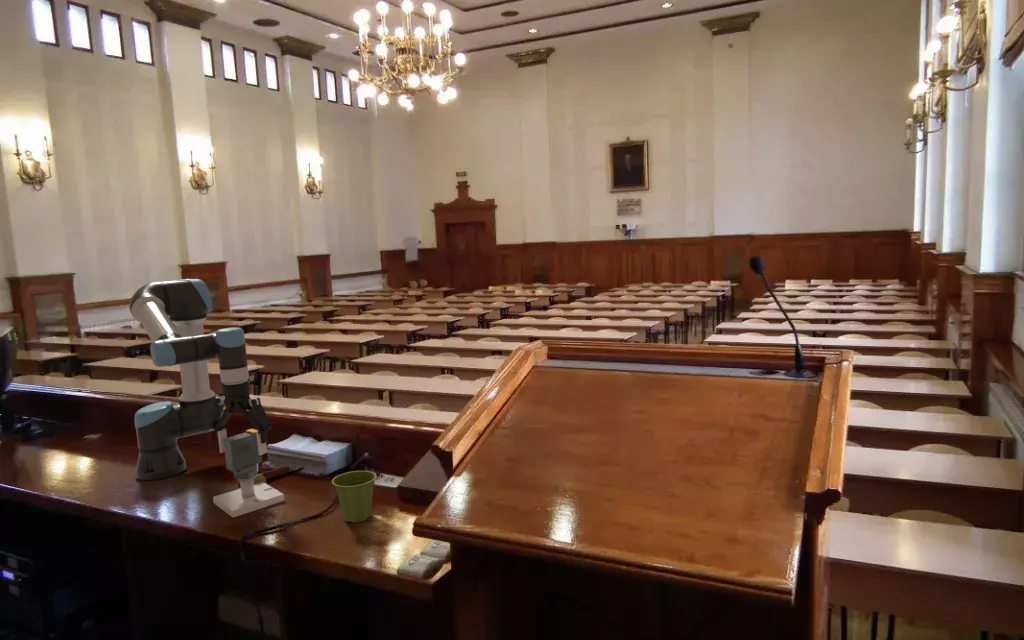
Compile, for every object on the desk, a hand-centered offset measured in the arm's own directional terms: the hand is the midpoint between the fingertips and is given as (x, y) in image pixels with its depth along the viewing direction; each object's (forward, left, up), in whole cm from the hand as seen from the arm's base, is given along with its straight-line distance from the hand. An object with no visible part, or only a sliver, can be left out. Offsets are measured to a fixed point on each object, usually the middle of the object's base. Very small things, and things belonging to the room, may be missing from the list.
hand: (243, 452), depth 192 cm
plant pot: (+35, +16, -15) cm, 41 cm away
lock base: (0, 0, -15) cm, 15 cm away
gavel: (-14, +14, -16) cm, 25 cm away
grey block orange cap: (0, 0, -7) cm, 7 cm away
